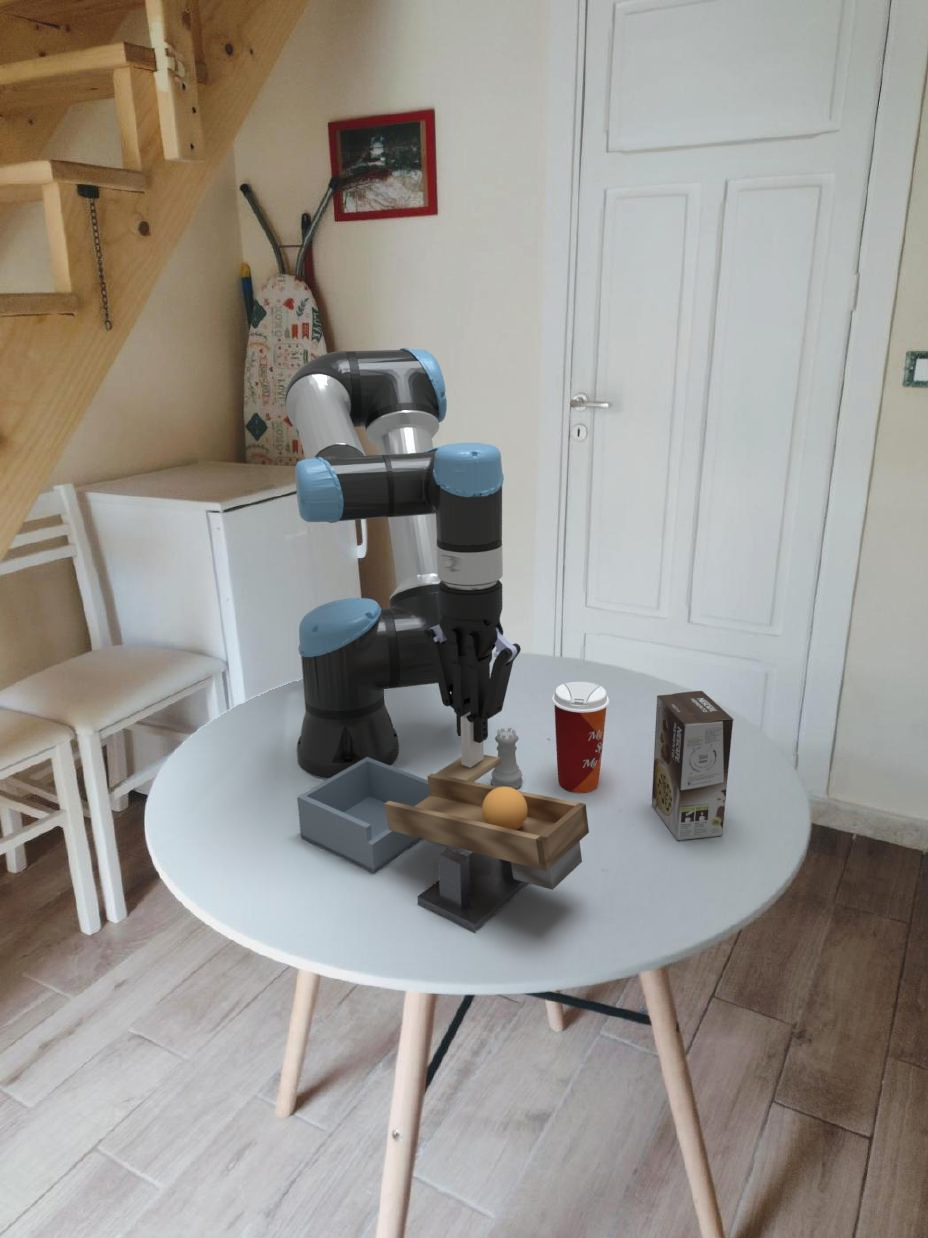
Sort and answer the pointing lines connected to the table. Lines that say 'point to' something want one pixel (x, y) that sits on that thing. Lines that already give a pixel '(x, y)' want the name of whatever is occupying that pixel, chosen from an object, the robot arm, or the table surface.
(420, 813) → the chute
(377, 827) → the bin
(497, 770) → the rook chess piece
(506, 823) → the ball
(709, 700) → the coffee box
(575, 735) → the paper cup
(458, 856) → the stand
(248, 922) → the table surface
